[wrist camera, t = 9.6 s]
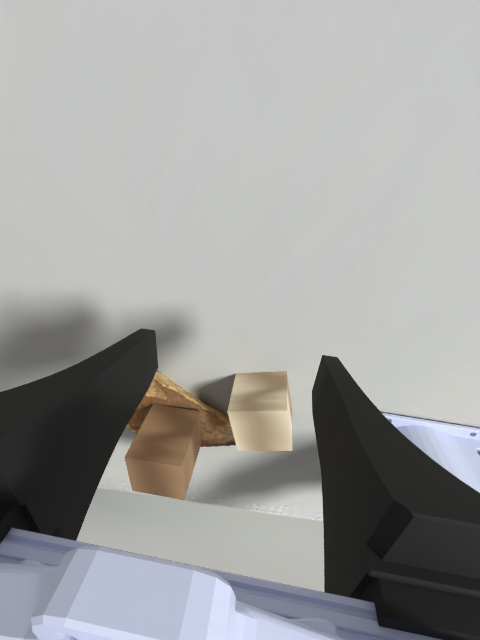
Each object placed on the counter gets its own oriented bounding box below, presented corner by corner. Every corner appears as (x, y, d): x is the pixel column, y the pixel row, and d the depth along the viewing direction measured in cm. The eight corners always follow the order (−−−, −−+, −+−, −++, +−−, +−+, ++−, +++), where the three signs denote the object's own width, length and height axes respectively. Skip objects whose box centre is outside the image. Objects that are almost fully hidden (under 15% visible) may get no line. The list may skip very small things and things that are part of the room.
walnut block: (200, 411, 27) (181, 466, 22) (201, 443, 29) (184, 499, 24) (153, 403, 27) (124, 457, 22) (157, 436, 29) (132, 490, 25)
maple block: (287, 370, 25) (287, 410, 21) (291, 408, 27) (292, 450, 23) (236, 373, 26) (227, 411, 22) (244, 409, 28) (237, 450, 24)
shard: (264, 430, 30) (262, 448, 28) (213, 466, 34) (209, 485, 33) (156, 359, 27) (146, 375, 25) (115, 409, 32) (104, 425, 30)
